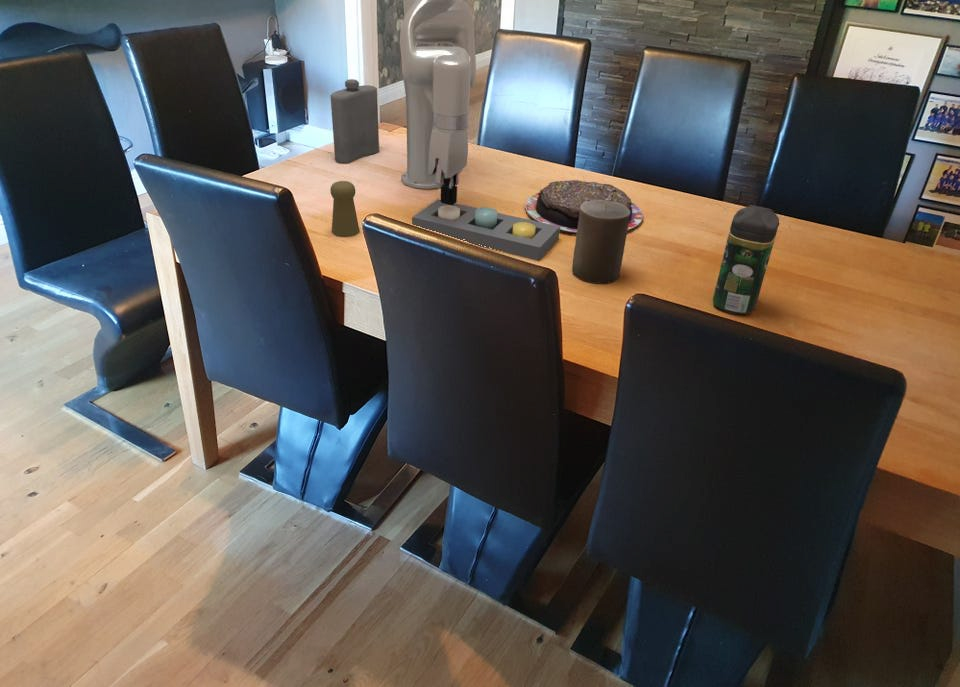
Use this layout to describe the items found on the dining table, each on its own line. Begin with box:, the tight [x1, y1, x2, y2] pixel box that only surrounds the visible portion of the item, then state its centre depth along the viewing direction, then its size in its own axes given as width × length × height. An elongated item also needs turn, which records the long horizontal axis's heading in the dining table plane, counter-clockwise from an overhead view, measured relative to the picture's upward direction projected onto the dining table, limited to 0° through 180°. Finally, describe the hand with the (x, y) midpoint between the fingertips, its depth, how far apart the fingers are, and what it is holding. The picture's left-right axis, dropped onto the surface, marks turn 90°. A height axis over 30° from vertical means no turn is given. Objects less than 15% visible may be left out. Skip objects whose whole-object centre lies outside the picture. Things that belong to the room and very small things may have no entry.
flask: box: [329, 78, 380, 165], centre depth 191 cm, size 15×6×20 cm, turn 144°
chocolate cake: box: [524, 179, 644, 236], centre depth 168 cm, size 28×28×7 cm
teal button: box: [475, 206, 498, 230], centre depth 155 cm, size 5×5×3 cm
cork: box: [329, 180, 361, 238], centre depth 152 cm, size 6×6×11 cm
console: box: [411, 198, 561, 261], centre depth 156 cm, size 12×30×3 cm, turn 65°
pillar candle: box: [571, 200, 630, 284], centre depth 140 cm, size 10×10×15 cm
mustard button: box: [512, 222, 536, 239], centre depth 152 cm, size 5×5×3 cm
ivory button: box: [438, 205, 460, 221], centre depth 158 cm, size 5×5×3 cm
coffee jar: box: [712, 204, 781, 315], centre depth 130 cm, size 10×8×19 cm
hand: (448, 202), depth 157 cm, fingers closed
